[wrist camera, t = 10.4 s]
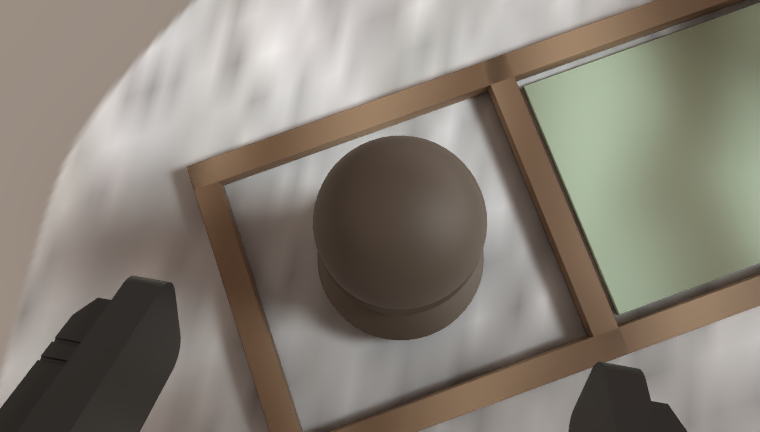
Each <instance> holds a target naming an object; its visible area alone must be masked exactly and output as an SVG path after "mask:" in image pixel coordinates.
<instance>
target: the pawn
mask: <svg viewBox="0 0 760 432" xmlns="http://www.w3.org/2000/svg"><path fill="white" fill-rule="evenodd" d="M313 230H314V237H315V242H316V246H317V249H318V268H319V275H320V278H321V282H322V285H323V287H324V290H325V292H326V294H327V296H328V298H329V300H330V301H331V303H332V304H333V306H334V307H335V308H336V310H337V311H338V312H339V313H340V314H341V315H342V316H343V317H344V318H345V319H346V320H347V321H348V322H350V323H351V324H352V325H354V326H355V327H357V328H359V329H360V330H362V331H364V332H366V333H369V334H371V335H374V336H377V337H381V338H385V339H392V340H410V339H417V338H421V337H424V336H428V335H431V334H433V333H435V332H437V331H440V330H441V329H443V328H445V327H446V326H448V325H449V324H451V323H452V322H453V321H454V320H455V319H457V318H458V317H459V316H460V315H461V314H462V312H463V311H464V310H465V309H466V308H467V306H468V305H469V303H470V302H471V301H472V299H473V297H474V295H475V293H476V291H477V288H478V286H479V283H480V280H481V276H482V271H483V261H484V256H483V247H484V243H485V238H486V231H487V213H486V207H485V202H484V199H483V196H482V193H481V190H480V188H479V186H478V184H477V182H476V180H475V178H474V176H473V175H472V173H471V172H470V170H469V169H468V168H467V167H466V166H465V164H464V163H463V162H462V161H461V160H460V159H459V158H458V157H456V156H455V155H454V154H453V153H451V152H450V151H448V150H447V149H446V148H444V147H442V146H440V145H438V144H436V143H434V142H431V141H428V140H426V139H422V138H417V137H411V136H389V137H382V138H378V139H375V140H372V141H369V142H367V143H364V144H362V145H360V146H358V147H357V148H355V149H353V150H351V151H350V152H349V153H348V154H346V155H345V156H344V157H342V158H341V159H340V160H339V161H338V162H337V163H336V164H335V166H334V167H333V168H332V169H331V171H330V172H329V173H328V175H327V177H326V178H325V180H324V182H323V184H322V186H321V188H320V191H319V193H318V196H317V200H316V203H315V208H314V216H313Z"/></svg>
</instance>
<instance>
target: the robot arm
mask: <svg viewBox="0 0 760 432" xmlns="http://www.w3.org/2000/svg"><path fill="white" fill-rule="evenodd" d="M180 339H181V338H180V328H179V320H178V312H177V304H176V296H175V289H174V286H173V284H172V283H171V282H165V281H160V280H154V279H149V278H143V277H137V276H131V277H129V278H128V279H127V280H126V281H125V282H124V283H123V285H122V286H121V288H120V289H119V290H118V292H117V293H116V294H115V296H114V297H113V299H112V300H108V299H102V298H97V299H95V300H94V301H92V302H91V303H90V304H88V305H87V306H85V307H84V308H82V309H81V310H79V311H78V312H76V313H75V314H73V315H72V316H71V318H70V319H69V320H68V322H67V323H66V324H65V325H64V327H63V328H62V329H61V331H60V332H59V333H58V335H57V336H56V337H55V341H54V342H51V344H50V345H49V346H48V347H47V349H46V350H45V351H44V353H43V354H42V355H41V359H40V361H39V360H37V362H36V363H35V364H34V366H33V367H32V368H31V369H30V371H29V372H28V373H27V375H26V376H25V377H24V379H23V380H22V381H21V382H20V384H19V385H18V386H17V388H16V389H15V390H14V391H13V393H12V394H11V395H10V397H9V398H8V399H7V401H6V402H5V403H4V404H3V406H2V407H1V408H0V432H140V430H141V428H142V426H143V424H144V423H145V421H146V419H147V417H148V415H149V413H150V411H151V409H152V408H153V406H154V404H155V402H156V400H157V398H158V396H159V394H160V393H161V391H162V389H163V387H164V385H165V383H166V381H167V380H168V378H169V376H170V374H171V372H172V370H173V368H174V366H175V363H176V361H177V357H178V354H179V349H180ZM569 432H687V431H686V429H685V428H684V426H683V425H682V423H681V422H680V421H679V419H678V418H677V416H676V415H675V414H674V412H673V411H672V409H671V408H670V406H669V405H668V404H664V403H659V402H653V401H651V399H650V395H649V391H648V387H647V383H646V379H645V376H644V374H643V372H642V371H641V370H640V369H637V368H632V367H626V366H621V365H615V364H609V363H604V362H597V363H596V364H595V365H594V367H593V368H592V371H591V373H590V375H589V377H588V379H587V381H586V384H585V386H584V388H583V390H582V392H581V395H580V397H579V399H578V401H577V403H576V405H575V408H574V410H573V412H572V416H571V420H570V425H569Z"/></svg>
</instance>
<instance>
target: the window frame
mask: <svg viewBox="0 0 760 432" xmlns="http://www.w3.org/2000/svg"><path fill="white" fill-rule="evenodd" d="M741 1H744V0H657V1H654V2H651V3H648V4H645V5H643V6H640V7H637V8H634V9H631V10H628V11H626V12H623V13H620V14H617V15H614V16H612V17H609V18H606V19H603V20H600V21H597V22H595V23H592V24H589V25H586V26H583V27H580V28H578V29H575V30H572V31H569V32H566V33H564V34H561V35H558V36H555V37H552V38H549V39H547V40H544V41H541V42H538V43H535V44H532V45H530V46H527V47H524V48H521V49H518V50H516V51H513V52H510V53H507V54H504V55H501V56H499V57H496V58H493V59H490V60H487V61H484V62H482V63H479V64H476V65H473V66H470V67H468V68H465V69H462V70H459V71H456V72H453V73H451V74H448V75H445V76H442V77H439V78H436V79H434V80H431V81H428V82H425V83H422V84H419V85H417V86H414V87H411V88H408V89H405V90H403V91H400V92H397V93H394V94H391V95H388V96H386V97H383V98H380V99H377V100H374V101H371V102H369V103H366V104H363V105H360V106H357V107H355V108H352V109H349V110H346V111H343V112H340V113H338V114H335V115H332V116H329V117H326V118H323V119H321V120H318V121H315V122H312V123H309V124H307V125H304V126H301V127H298V128H295V129H292V130H290V131H287V132H284V133H281V134H278V135H275V136H273V137H270V138H267V139H264V140H261V141H259V142H256V143H253V144H250V145H247V146H244V147H242V148H239V149H236V150H233V151H230V152H227V153H225V154H222V155H219V156H216V157H213V158H211V159H208V160H205V161H202V162H199V163H196V164H194V165H191V166H188V167H187V169H188V172H189V175H190V179H191V182H192V185H193V188H194V191H195V195H196V198H197V201H198V204H199V207H200V210H201V214H202V217H203V220H204V223H205V226H206V230H207V233H208V236H209V239H210V242H211V246H212V249H213V252H214V255H215V258H216V262H217V265H218V268H219V271H220V274H221V278H222V281H223V284H224V287H225V290H226V293H227V297H228V300H229V303H230V306H231V309H232V313H233V316H234V319H235V322H236V325H237V329H238V332H239V335H240V338H241V341H242V345H243V348H244V351H245V354H246V357H247V361H248V364H249V367H250V370H251V373H252V376H253V380H254V383H255V386H256V389H257V392H258V396H259V399H260V402H261V405H262V408H263V412H264V415H265V418H266V421H267V424H268V428H269V431H270V432H303V431H302V428H301V425H300V422H299V419H298V416H297V413H296V409H295V406H294V403H293V400H292V397H291V394H290V391H289V388H288V385H287V382H286V378H285V375H284V372H283V369H282V366H281V363H280V360H279V357H278V354H277V350H276V347H275V344H274V341H273V338H272V335H271V332H270V329H269V326H268V323H267V319H266V316H265V313H264V310H263V307H262V304H261V301H260V298H259V295H258V291H257V288H256V285H255V282H254V279H253V276H252V273H251V270H250V267H249V263H248V260H247V257H246V254H245V251H244V248H243V245H242V242H241V239H240V236H239V232H238V229H237V226H236V223H235V220H234V217H233V214H232V211H231V208H230V204H229V201H228V198H227V195H226V192H225V189H224V186H223V185H226V184H229V183H232V182H235V181H237V180H240V179H243V178H246V177H249V176H252V175H254V174H257V173H260V172H263V171H266V170H268V169H271V168H274V167H277V166H280V165H282V164H285V163H288V162H291V161H294V160H297V159H299V158H302V157H305V156H308V155H311V154H313V153H316V152H319V151H322V150H325V149H327V148H330V147H333V146H336V145H339V144H342V143H344V142H347V141H350V140H353V139H356V138H358V137H361V136H364V135H367V134H370V133H373V132H375V131H378V130H381V129H384V128H387V127H389V126H392V125H395V124H398V123H401V122H403V121H406V120H409V119H412V118H415V117H418V116H420V115H423V114H426V113H429V112H432V111H434V110H437V109H440V108H443V107H446V106H449V105H451V104H454V103H457V102H460V101H463V100H465V99H468V98H471V97H474V96H477V95H479V94H482V93H485V92H489V95H490V97H491V100H492V102H493V105H494V107H495V110H496V112H497V115H498V117H499V119H500V122H501V124H502V127H503V129H504V132H505V134H506V137H507V139H508V142H509V144H510V146H511V149H512V151H513V154H514V156H515V159H516V161H517V164H518V166H519V169H520V171H521V173H522V176H523V178H524V181H525V183H526V186H527V188H528V191H529V193H530V196H531V198H532V200H533V203H534V205H535V208H536V210H537V213H538V215H539V218H540V220H541V222H542V225H543V227H544V230H545V232H546V235H547V237H548V240H549V242H550V245H551V247H552V249H553V252H554V254H555V257H556V259H557V262H558V264H559V267H560V269H561V272H562V274H563V276H564V279H565V281H566V284H567V286H568V289H569V291H570V294H571V296H572V299H573V301H574V303H575V306H576V308H577V311H578V313H579V316H580V318H581V321H582V323H583V326H584V328H585V330H586V333H587V335H588V336H587V337H584V338H581V339H579V340H576V341H573V342H570V343H568V344H565V345H562V346H560V347H557V348H554V349H551V350H549V351H546V352H543V353H540V354H538V355H535V356H532V357H530V358H527V359H524V360H521V361H519V362H516V363H513V364H510V365H508V366H505V367H502V368H499V369H497V370H494V371H491V372H489V373H486V374H483V375H480V376H478V377H475V378H472V379H469V380H467V381H464V382H461V383H459V384H456V385H453V386H450V387H448V388H445V389H442V390H439V391H437V392H434V393H431V394H429V395H426V396H423V397H420V398H418V399H415V400H412V401H409V402H407V403H404V404H401V405H399V406H396V407H393V408H390V409H388V410H385V411H382V412H379V413H377V414H374V415H371V416H369V417H366V418H363V419H360V420H358V421H355V422H352V423H349V424H347V425H344V426H341V427H338V428H336V429H333V430H330V431H328V432H417V431H420V430H423V429H425V428H428V427H431V426H433V425H436V424H439V423H442V422H444V421H447V420H450V419H452V418H455V417H458V416H461V415H463V414H466V413H469V412H471V411H474V410H477V409H480V408H482V407H485V406H488V405H490V404H493V403H496V402H499V401H501V400H504V399H507V398H510V397H512V396H515V395H518V394H520V393H523V392H526V391H529V390H531V389H534V388H537V387H539V386H542V385H545V384H548V383H550V382H553V381H556V380H558V379H561V378H564V377H567V376H569V375H572V374H575V373H578V372H580V371H583V370H586V369H588V368H591V367H594V365H595V364H596V363H597V362H604V363H605V362H607V361H610V360H613V359H616V358H618V357H621V356H624V355H626V354H629V353H632V352H635V351H637V350H640V349H643V348H645V347H648V346H651V345H654V344H656V343H659V342H662V341H665V340H667V339H670V338H673V337H675V336H678V335H681V334H684V333H686V332H689V331H692V330H694V329H697V328H700V327H703V326H705V325H708V324H711V323H713V322H716V321H719V320H722V319H724V318H727V317H730V316H733V315H735V314H738V313H741V312H743V311H746V310H749V309H752V308H754V307H757V306H760V273H759V274H756V275H753V276H751V277H748V278H745V279H742V280H740V281H737V282H734V283H731V284H729V285H726V286H723V287H721V288H718V289H715V290H712V291H710V292H707V293H704V294H701V295H699V296H696V297H693V298H691V299H688V300H685V301H682V302H680V303H677V304H674V305H671V306H669V307H666V308H663V309H660V310H658V311H655V312H652V313H650V314H647V315H644V316H641V317H639V318H636V319H633V320H630V321H628V322H625V323H622V324H620V325H618V324H617V322H616V320H615V317H614V315H613V312H612V310H611V308H610V305H609V303H608V300H607V298H606V296H605V293H604V291H603V288H602V286H601V284H600V281H599V279H598V277H597V274H596V272H595V269H594V267H593V265H592V262H591V260H590V257H589V255H588V253H587V250H586V248H585V245H584V243H583V241H582V238H581V236H580V233H579V231H578V229H577V226H576V224H575V221H574V219H573V217H572V214H571V212H570V209H569V207H568V205H567V202H566V200H565V197H564V195H563V193H562V190H561V188H560V185H559V183H558V181H557V178H556V176H555V173H554V171H553V169H552V166H551V164H550V161H549V159H548V157H547V154H546V152H545V149H544V147H543V145H542V142H541V140H540V137H539V135H538V133H537V130H536V128H535V125H534V123H533V121H532V118H531V116H530V113H529V111H528V109H527V106H526V104H525V101H524V99H523V97H522V94H521V92H520V89H519V87H518V85H517V82H516V81H519V80H522V79H525V78H527V77H530V76H533V75H536V74H539V73H541V72H544V71H547V70H550V69H553V68H555V67H558V66H561V65H564V64H567V63H570V62H572V61H575V60H578V59H581V58H584V57H586V56H589V55H592V54H595V53H598V52H600V51H603V50H606V49H609V48H612V47H615V46H617V45H620V44H623V43H626V42H629V41H631V40H634V39H637V38H640V37H643V36H646V35H648V34H651V33H654V32H657V31H660V30H662V29H665V28H668V27H671V26H674V25H676V24H679V23H682V22H685V21H688V20H691V19H693V18H696V17H699V16H702V15H705V14H707V13H710V12H713V11H716V10H719V9H722V8H724V7H727V6H730V5H733V4H736V3H738V2H741ZM523 90H524V93H525V95H526V97H527V100H528V102H529V105H530V107H531V109H532V112H533V114H534V117H535V119H536V121H537V124H538V126H539V128H540V131H541V133H542V136H543V138H544V140H545V143H546V145H547V148H548V150H549V152H550V155H551V157H552V160H553V162H554V164H555V167H556V169H557V172H558V174H559V176H560V179H561V181H562V184H563V186H564V188H565V191H566V193H567V195H568V198H569V200H570V203H571V205H572V207H573V210H574V212H575V215H576V217H577V219H578V222H579V224H580V227H581V229H582V231H583V234H584V236H585V239H586V241H587V243H588V246H589V248H590V250H591V253H592V255H593V258H594V260H595V262H596V265H597V267H598V270H599V272H600V274H601V277H602V279H603V282H604V284H605V286H606V289H607V291H608V294H609V296H610V298H611V301H612V303H613V306H614V308H615V310H616V313H617V315H620V314H622V313H625V312H628V311H631V310H633V309H636V308H639V307H642V306H644V305H647V304H650V303H653V302H655V301H658V300H661V299H663V298H666V297H669V296H672V295H674V294H677V293H680V292H683V291H685V290H688V289H691V288H693V287H696V286H699V285H702V284H704V283H707V282H710V281H713V280H715V279H718V278H721V277H724V276H726V275H729V274H732V273H734V272H737V271H740V270H743V269H745V268H748V267H751V266H754V265H756V264H759V263H760V2H759V3H757V4H754V5H751V6H748V7H745V8H743V9H740V10H737V11H734V12H731V13H729V14H726V15H723V16H720V17H717V18H714V19H712V20H709V21H706V22H703V23H700V24H698V25H695V26H692V27H689V28H686V29H684V30H681V31H678V32H675V33H672V34H669V35H667V36H664V37H661V38H658V39H655V40H653V41H650V42H647V43H644V44H641V45H639V46H636V47H633V48H630V49H627V50H624V51H622V52H619V53H616V54H613V55H610V56H608V57H605V58H602V59H599V60H596V61H594V62H591V63H588V64H585V65H582V66H579V67H577V68H574V69H571V70H568V71H565V72H563V73H560V74H557V75H554V76H551V77H549V78H546V79H543V80H540V81H537V82H534V83H532V84H529V85H526V86H524V87H523Z"/></svg>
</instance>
